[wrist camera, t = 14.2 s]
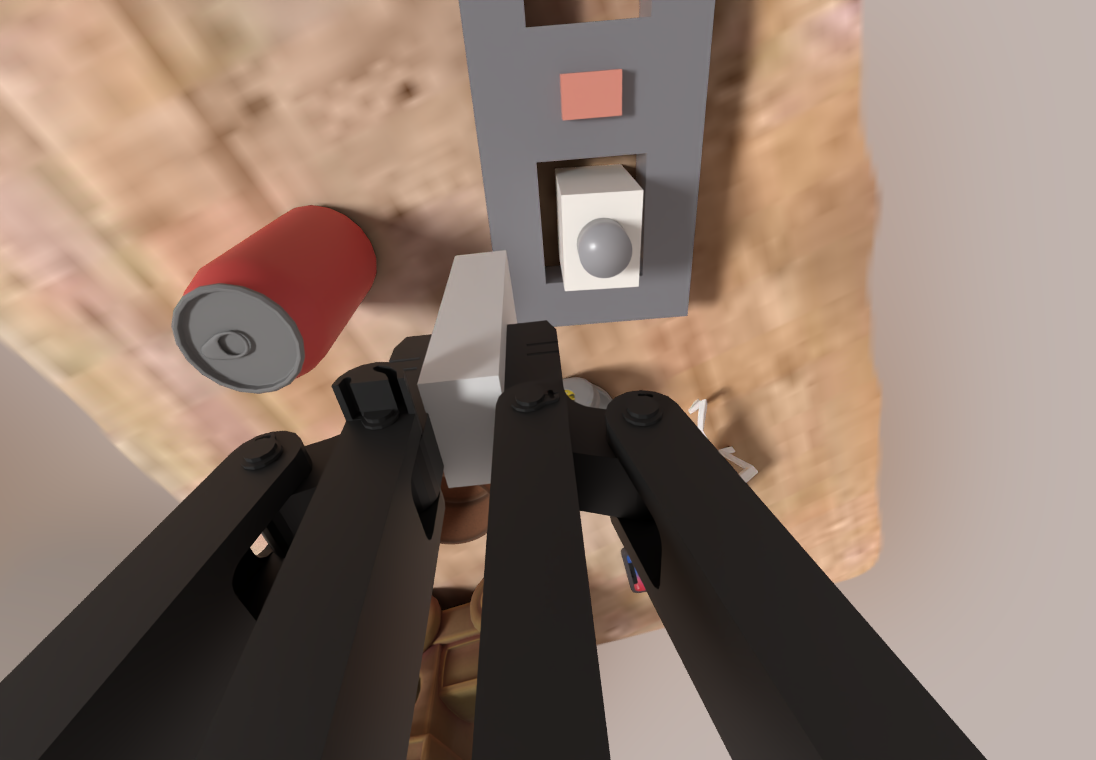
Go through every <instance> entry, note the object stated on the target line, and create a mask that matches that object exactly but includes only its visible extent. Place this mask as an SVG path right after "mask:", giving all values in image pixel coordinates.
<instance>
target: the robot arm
mask: <svg viewBox="0 0 1096 760" xmlns="http://www.w3.org/2000/svg"><path fill="white" fill-rule="evenodd" d="M332 388H333V391H334V393H335V395H336V398H337V400H338V403H339V405H340V407H341V410H342V412H343V414H344V417H345V419H346V423H345V425H344V428H343V430H342V432H341V434H340V435H337V436H335V437H332V438H329V439H326V440H323V441H320V442H317V443H313V444H310V445H307V446H304V444H303V442H302V440H301V439H300V438H299V437H298V435H297V434H296V433H292V432H288V431H276V432H270V433H266V434H262V435H259V436H256V437H254V438H253V439H251V440H249V441H247V442H245V443H243V444H242V445H241V446H239V447H238V448H237V449H236V450H234V451H233V452H232V453H231V454H230V455H229V456H228V457H227V458H226V459H225V460H224V461H223V462H222V463H221V464H220V465H219V466H218V467H217V468H216V469H215V470H214V471H213V472H212V473H211V474H210V475H209V476H208V477H207V478H206V479H205V480H204V481H203V482H202V483H201V484H200V485H199V486H198V487H197V488H196V489H195V490H194V491H193V492H192V493H191V494H189V495H188V496H187V497H186V498H185V499H184V500H183V501H182V502H181V503H180V504H179V505H178V507H176V508H175V509H174V511H172V512H171V513H170V514H169V515H168V516H167V517H166V518H165V519H164V520H163V521H162V522H161V523H160V524H159V525H158V526H157V528H155V529H154V530H153V531H152V532H151V533H150V534H149V535H148V536H147V537H146V538H145V539H144V540H143V541H142V542H141V544H139V545H138V546H137V547H136V548H135V549H134V550H133V551H132V552H131V553H130V554H129V555H128V556H127V557H126V558H125V559H124V560H123V561H122V562H121V563H120V564H119V565H118V566H117V567H116V568H115V569H114V570H113V571H112V572H111V573H110V574H109V575H108V576H107V577H106V578H105V579H104V580H103V581H102V582H101V583H100V584H99V585H98V586H97V587H96V588H95V589H94V590H93V591H92V592H91V593H90V594H89V595H88V596H87V597H86V598H85V599H84V600H83V601H82V602H81V603H80V604H79V605H78V606H77V607H76V608H75V609H74V610H73V611H72V612H71V613H70V614H69V615H68V616H67V617H66V618H65V619H64V620H63V621H62V622H61V623H60V624H59V625H58V626H57V627H56V628H55V629H54V630H53V631H52V632H51V633H50V634H49V635H48V636H47V637H46V638H45V639H44V640H43V641H42V642H41V643H40V644H39V645H38V646H37V647H36V648H35V649H34V650H33V651H32V652H31V653H30V654H29V655H28V656H27V657H26V658H25V659H24V660H23V661H22V662H21V663H20V664H19V665H18V666H17V667H16V668H15V669H14V670H13V671H12V672H11V673H10V674H9V675H8V676H7V677H5V678H4V679H3V680H2V681H1V683H0V760H406V759H407V752H408V746H409V739H410V733H411V726H412V720H413V713H414V707H415V700H416V694H417V687H418V681H419V674H420V668H421V661H422V655H423V648H424V642H425V636H426V629H427V623H428V616H429V610H430V603H431V597H432V590H433V584H434V577H435V571H436V564H437V558H438V551H439V545H440V538H441V532H442V525H443V519H444V512H445V501H444V497H443V493H442V490H441V481H442V476H443V471H444V475H445V478H446V481H447V485H448V488H453V487H463V486H473V485H482V484H490V497H489V512H488V526H487V541H486V555H485V570H484V584H483V599H482V614H481V628H480V643H479V657H478V672H477V687H476V701H475V716H474V730H473V745H472V759H471V760H610V751H609V743H608V736H607V727H606V720H605V711H604V703H603V696H602V687H601V679H600V671H599V663H598V655H597V647H596V638H595V630H594V622H593V614H592V606H591V598H590V590H589V582H588V574H587V566H586V558H585V550H584V542H583V534H582V526H581V518H580V511H585V512H591V513H596V514H602V515H608V516H610V518H611V522H612V524H613V526H614V528H615V530H616V532H617V534H618V536H619V538H620V540H621V542H622V544H623V546H624V548H625V550H626V552H627V554H628V556H629V558H630V560H631V562H632V564H633V566H634V567H635V569H636V571H637V573H638V575H639V577H640V579H641V581H642V583H643V585H644V587H645V589H646V591H647V593H648V595H649V597H650V599H651V601H652V603H653V605H654V607H655V609H656V611H657V613H658V615H659V617H660V619H661V621H662V623H663V625H664V627H665V628H666V630H667V632H668V634H669V636H670V638H671V640H672V642H673V644H674V646H675V648H676V650H677V652H678V654H679V656H680V658H681V660H682V662H683V664H684V666H685V668H686V670H687V672H688V674H689V676H690V678H691V680H692V681H693V684H694V685H695V688H696V689H697V691H698V693H699V695H700V697H701V699H702V701H703V703H704V705H705V707H706V709H707V711H708V713H709V715H710V717H711V719H712V721H713V723H714V725H715V727H716V729H717V731H718V733H719V735H720V737H721V739H722V741H723V742H724V745H725V746H726V749H727V750H728V752H729V754H730V756H731V758H732V760H987V759H986V758H985V757H984V756H983V755H982V753H981V752H980V751H979V750H978V749H977V748H976V746H975V745H974V744H973V743H972V742H971V741H970V740H969V738H968V737H967V736H966V735H965V734H964V733H963V731H962V730H961V729H960V728H959V727H958V726H957V725H956V724H955V722H954V721H953V720H952V719H951V718H950V717H949V716H948V714H947V713H946V712H945V711H944V710H943V709H942V707H941V706H940V705H939V704H938V703H937V702H936V700H935V699H934V698H933V697H932V696H931V695H930V694H929V693H928V691H927V690H926V689H925V688H924V687H923V686H922V684H921V683H920V682H919V681H918V680H917V679H916V678H915V676H914V675H913V674H912V673H911V672H910V671H909V669H908V668H907V667H906V666H905V665H904V664H903V663H902V661H901V660H900V659H899V658H898V657H897V656H896V655H895V654H894V652H893V651H892V650H891V649H890V648H889V647H888V646H887V644H886V643H885V642H884V641H883V640H882V638H881V637H880V636H879V635H878V634H877V633H876V632H875V630H874V629H873V628H872V627H871V626H870V625H869V623H868V622H867V621H866V620H865V619H864V618H863V617H862V616H861V614H860V613H859V612H858V611H857V610H856V609H855V607H854V606H853V605H852V604H851V603H850V602H849V601H848V599H847V598H846V597H845V596H844V595H843V594H842V592H841V591H840V590H839V589H838V588H837V587H836V586H835V584H834V583H833V582H832V581H831V580H830V579H829V578H828V576H827V575H826V574H825V573H824V572H823V571H822V569H821V568H820V567H819V566H818V565H817V564H816V563H815V561H814V560H813V559H812V558H811V557H810V556H809V555H808V553H807V552H806V551H805V550H804V549H803V548H802V547H801V545H800V544H799V543H798V542H797V541H796V540H795V538H794V537H793V536H792V535H791V534H790V533H789V532H788V530H787V529H786V528H785V527H784V526H783V525H782V524H781V522H780V521H779V520H778V519H777V518H776V517H775V515H774V514H773V513H772V512H771V511H770V510H769V509H768V507H767V506H766V505H765V504H764V503H763V502H762V501H761V499H760V498H759V497H758V496H757V495H756V494H755V493H754V491H753V490H752V489H751V488H750V487H749V486H748V484H747V483H746V482H745V481H744V480H743V479H742V478H741V476H740V475H739V474H738V473H737V472H736V471H735V470H734V468H733V467H732V466H731V465H730V464H729V463H728V461H727V460H726V459H725V458H724V457H723V456H722V455H721V453H720V452H719V451H718V450H717V449H716V448H715V447H714V445H713V444H712V443H711V442H710V441H709V440H708V439H707V437H706V436H705V435H704V434H703V433H702V432H701V430H700V429H699V428H698V427H697V426H696V425H695V424H694V422H693V421H692V420H691V419H690V418H689V417H688V416H687V414H686V413H685V412H684V411H683V410H682V409H681V407H680V406H679V405H678V404H677V403H676V402H675V401H673V400H672V399H671V398H669V397H668V396H666V395H663V394H660V393H657V392H653V391H643V390H640V391H632V392H627V393H624V394H622V395H619V396H617V397H615V398H614V399H613V400H612V401H611V402H610V403H609V404H608V405H607V408H606V409H600V408H593V407H588V406H584V405H582V404H579V403H577V402H575V401H574V400H572V399H571V398H569V396H568V395H567V394H566V393H565V390H564V387H563V379H562V371H561V363H560V355H559V347H558V339H557V332H556V329H555V328H554V327H553V326H552V325H551V324H550V323H549V322H548V321H547V320H544V321H535V322H526V323H517V319H516V312H515V306H514V299H513V292H512V286H511V279H510V272H509V266H508V259H507V252H506V250H502V251H493V252H484V253H475V254H466V255H457V256H455V258H454V261H453V265H452V268H451V272H450V275H449V278H448V282H447V285H446V288H445V292H444V295H443V299H442V302H441V305H440V309H439V312H438V316H437V319H436V322H435V326H434V329H433V333H432V334H430V335H421V336H412V337H406V338H405V339H404V340H403V341H402V342H401V343H400V344H399V345H397V346H396V347H395V348H394V350H393V353H392V355H391V357H390V360H389V362H375V363H370V364H365V365H361V366H359V367H356V368H354V369H351V370H349V371H348V372H346V373H345V374H343V375H342V376H340V377H339V378H338V379H337V380H336V381H335V382H334V383H333V384H332ZM260 534H262V535H263V537H264V538H265V540H266V541H267V543H268V545H267V546H266V548H265V549H264V550H263V551H262V552H261V553H259V554H258V555H257V556H256V555H255V554H254V553H253V552H252V550H251V549H250V547H251V546H252V544H253V543H254V542H255V540H256V539H257V538H258V537H259V535H260Z"/></svg>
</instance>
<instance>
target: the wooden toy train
mask: <svg viewBox="0 0 1096 760" xmlns="http://www.w3.org/2000/svg"><path fill="white" fill-rule="evenodd" d="M483 584H484V578H483V579H482V581H481V582H480V583H479V584H478V585H477V587H476V589H475V591H474V593H473V595H472V598H471V602H470V603H467V604H463V605H460V606H457V607H453V608H450V609H446V610H443V611H441V608H440V605H439V603H438V600H437V599H436V598H435V597H434V596H432V597H431V603H430V610H429V616H428V623H427V629H426V636H425V642H424V648H423V655H422V661H421V668H420V674H419V681H418V687H417V694H416V700H415V707H414V713H413V720H412V726H411V733H410V739H409V746H408V752H407V759H406V760H471V759H472V745H473V730H474V716H475V701H476V687H477V672H478V657H479V643H480V628H481V614H482V599H483Z"/></svg>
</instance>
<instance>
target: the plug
mask: <svg viewBox="0 0 1096 760" xmlns="http://www.w3.org/2000/svg"><path fill="white" fill-rule="evenodd" d="M555 186H556V210H557V233H558V251H559V258H560V264H561V270H562V277H563V283H564V289H565V291H577V290H593V289H609V288H625V287H639V269H640V249H641V228H642V208H643V189H642V188H641V187H640V186H639V184H638V183H637V182H636V181H635V180H634V179H633V177H632V176H631V175H630V174H629V173H628V172H627V171H626V169H625V168H624V167H623V166H622V165H621V164H613V165H597V166H581V167H565V168H555Z"/></svg>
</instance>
